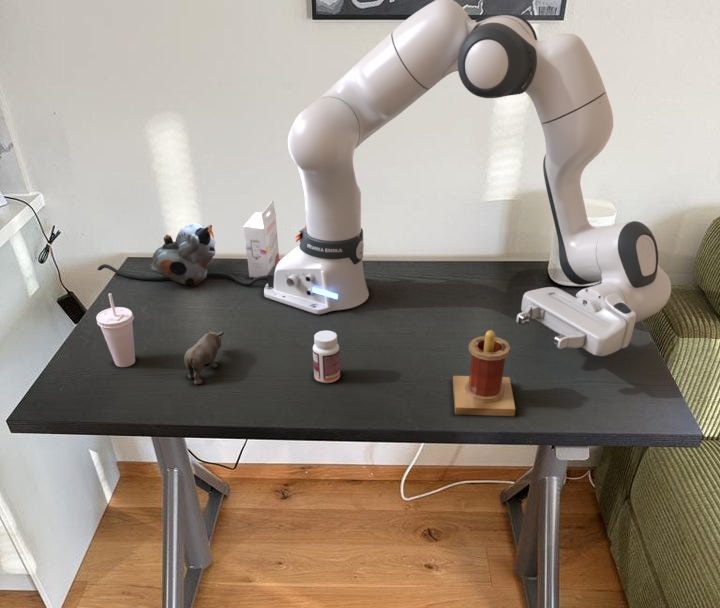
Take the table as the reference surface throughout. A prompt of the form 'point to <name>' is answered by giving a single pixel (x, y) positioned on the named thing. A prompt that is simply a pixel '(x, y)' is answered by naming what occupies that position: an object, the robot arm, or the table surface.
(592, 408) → the table surface
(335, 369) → the pill bottle
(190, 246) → the lucky cat figurine
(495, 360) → the spool
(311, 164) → the robot arm
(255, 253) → the ink cartridge box
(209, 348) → the rhino figurine
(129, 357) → the smoothie
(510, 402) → the peg stand
